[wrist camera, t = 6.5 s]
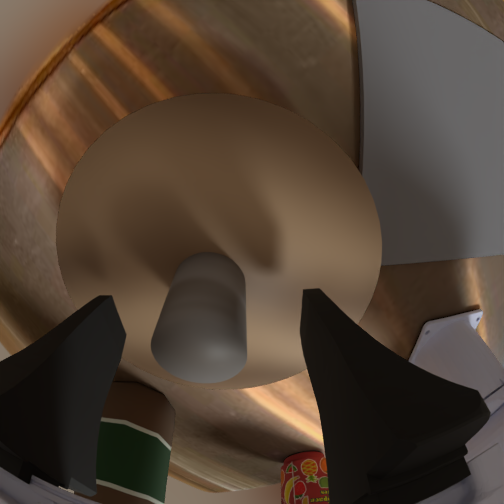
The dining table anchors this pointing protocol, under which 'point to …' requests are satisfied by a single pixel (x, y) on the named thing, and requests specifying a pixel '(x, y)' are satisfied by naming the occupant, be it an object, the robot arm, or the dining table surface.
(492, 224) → the mat
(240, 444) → the dining table surface
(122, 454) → the beer bottle
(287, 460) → the smoothie
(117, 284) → the lid
